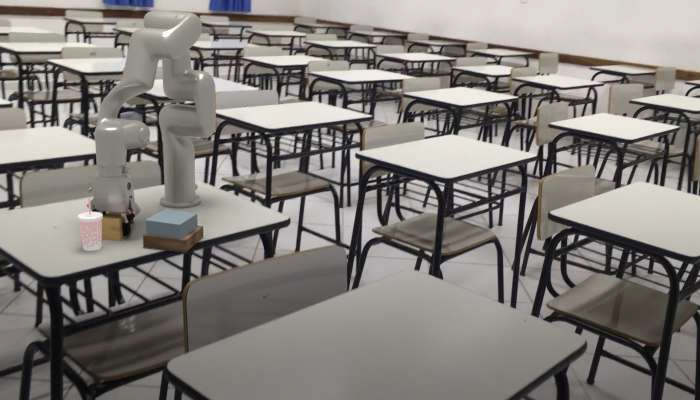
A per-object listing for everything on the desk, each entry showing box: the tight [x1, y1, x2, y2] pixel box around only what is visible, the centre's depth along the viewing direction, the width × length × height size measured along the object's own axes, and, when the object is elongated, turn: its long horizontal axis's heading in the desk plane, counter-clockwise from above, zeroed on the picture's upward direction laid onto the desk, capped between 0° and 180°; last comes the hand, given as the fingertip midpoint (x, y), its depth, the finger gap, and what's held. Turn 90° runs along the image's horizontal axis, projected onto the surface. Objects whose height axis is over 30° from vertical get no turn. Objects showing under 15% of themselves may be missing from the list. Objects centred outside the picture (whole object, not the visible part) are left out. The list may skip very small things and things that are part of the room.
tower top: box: [145, 208, 199, 239], centre depth 187 cm, size 10×10×4 cm
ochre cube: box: [102, 212, 132, 242], centre depth 190 cm, size 6×6×6 cm
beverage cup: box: [77, 196, 103, 252], centre depth 180 cm, size 6×6×14 cm
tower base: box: [142, 225, 204, 254], centre depth 188 cm, size 12×12×4 cm
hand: (115, 233), depth 191 cm, fingers closed on ochre cube, 6 cm apart
